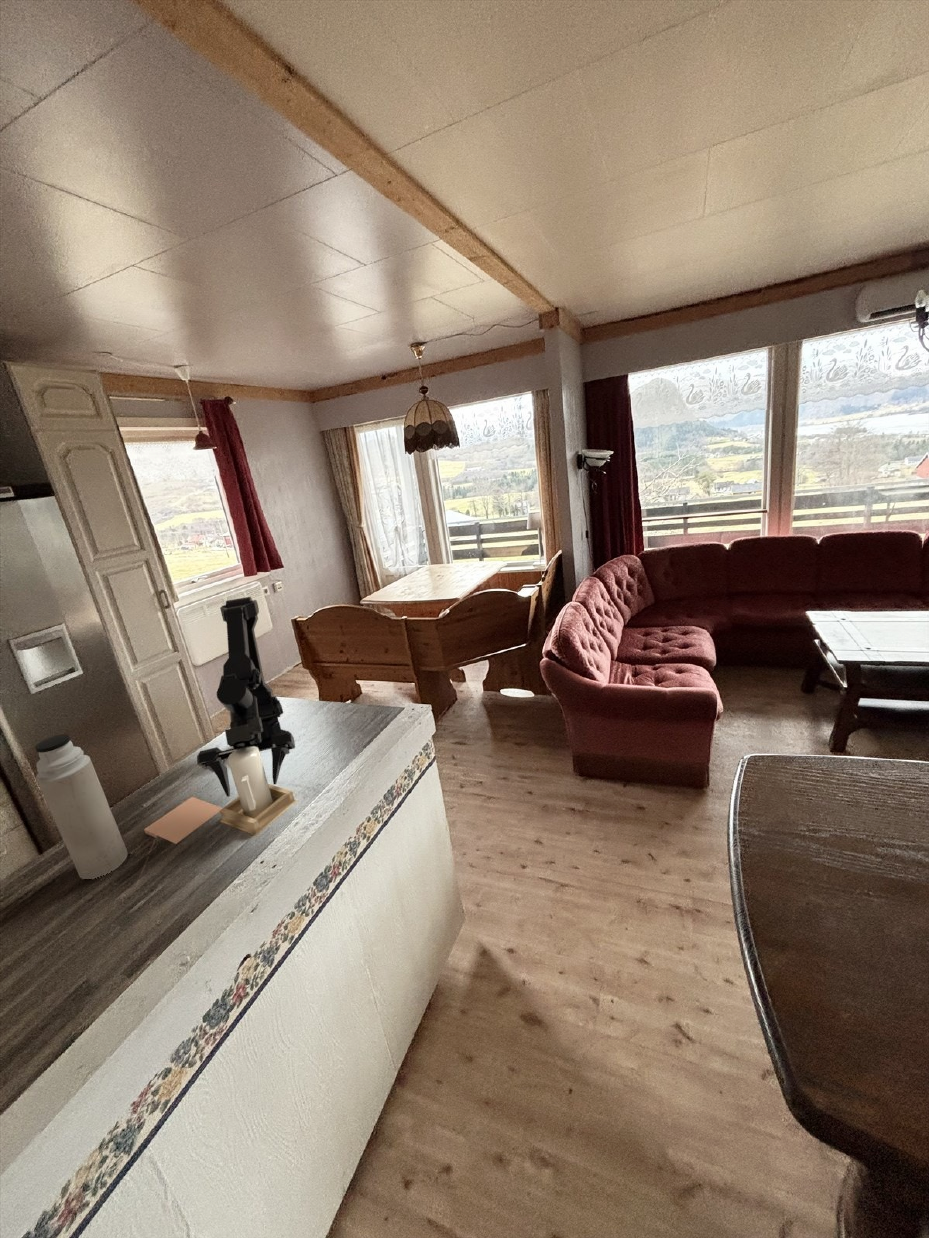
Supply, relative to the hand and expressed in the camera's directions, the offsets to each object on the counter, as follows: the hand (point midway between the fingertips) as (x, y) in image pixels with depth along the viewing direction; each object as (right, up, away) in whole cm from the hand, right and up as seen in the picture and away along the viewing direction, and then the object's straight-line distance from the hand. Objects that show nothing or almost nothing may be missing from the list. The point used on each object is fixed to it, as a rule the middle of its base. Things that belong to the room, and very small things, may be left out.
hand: (251, 790), depth 103 cm
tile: (-16, -8, +3) cm, 18 cm away
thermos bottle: (-27, -13, -6) cm, 30 cm away
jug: (+1, -6, +2) cm, 6 cm away
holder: (0, -6, +4) cm, 7 cm away
